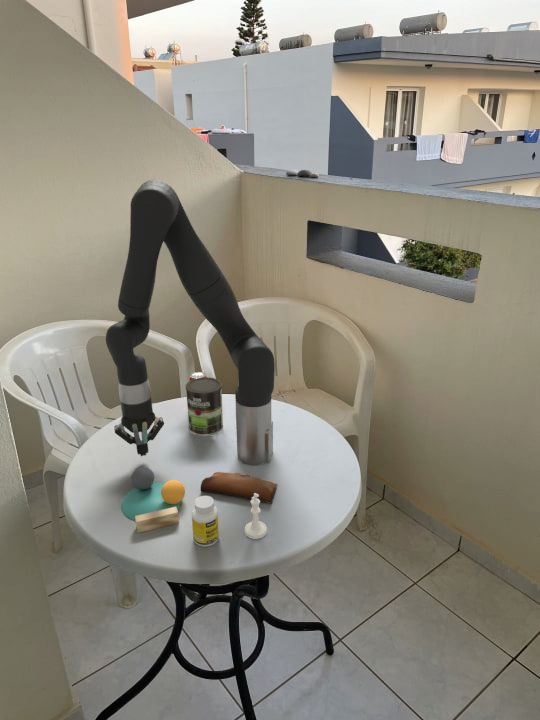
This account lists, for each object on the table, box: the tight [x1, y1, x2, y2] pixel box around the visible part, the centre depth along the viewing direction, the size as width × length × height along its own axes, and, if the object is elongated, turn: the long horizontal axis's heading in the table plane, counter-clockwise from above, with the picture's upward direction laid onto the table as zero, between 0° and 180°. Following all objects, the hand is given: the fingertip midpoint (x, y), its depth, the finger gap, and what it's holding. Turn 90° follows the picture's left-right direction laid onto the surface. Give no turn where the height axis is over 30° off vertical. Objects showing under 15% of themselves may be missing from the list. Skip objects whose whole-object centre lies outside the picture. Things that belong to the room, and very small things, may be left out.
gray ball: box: [130, 466, 155, 490], centre depth 123 cm, size 6×6×6 cm
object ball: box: [161, 479, 186, 504], centre depth 118 cm, size 6×6×6 cm
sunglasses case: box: [200, 471, 278, 504], centre depth 123 cm, size 18×7×7 cm, turn 75°
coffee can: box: [185, 376, 224, 437], centre depth 147 cm, size 10×10×14 cm
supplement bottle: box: [191, 495, 220, 548], centre depth 106 cm, size 5×5×10 cm
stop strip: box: [135, 507, 180, 534], centre depth 111 cm, size 9×2×3 cm, turn 110°
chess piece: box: [244, 493, 268, 540], centre depth 108 cm, size 5×5×10 cm
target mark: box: [121, 481, 183, 522], centre depth 119 cm, size 14×14×1 cm
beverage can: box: [189, 371, 207, 381], centre depth 157 cm, size 5×5×12 cm
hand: (143, 454), depth 133 cm, fingers closed
